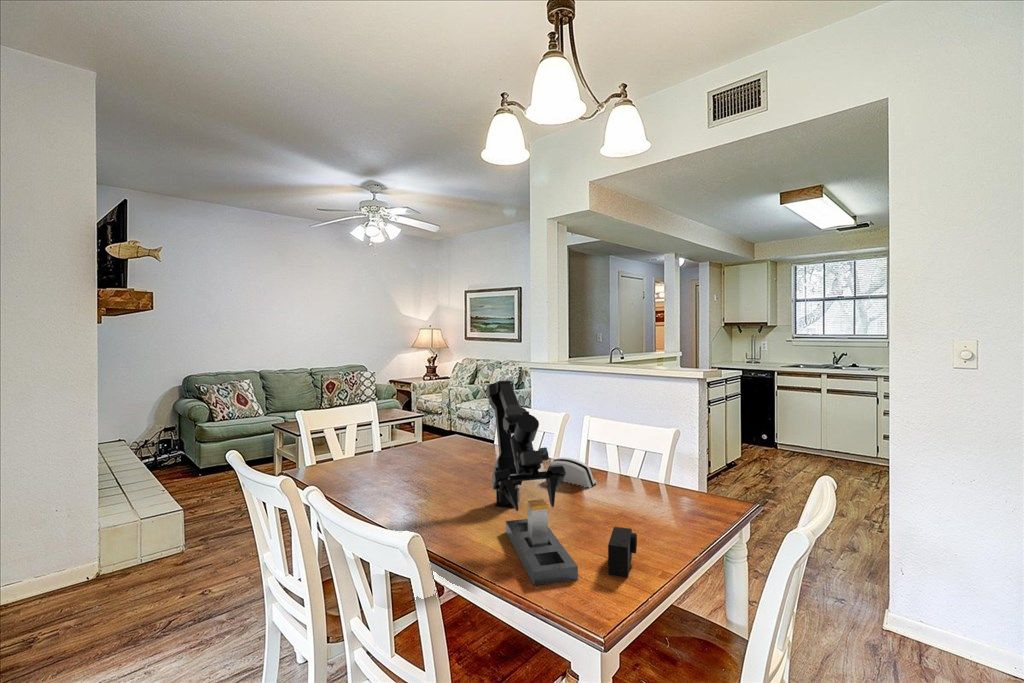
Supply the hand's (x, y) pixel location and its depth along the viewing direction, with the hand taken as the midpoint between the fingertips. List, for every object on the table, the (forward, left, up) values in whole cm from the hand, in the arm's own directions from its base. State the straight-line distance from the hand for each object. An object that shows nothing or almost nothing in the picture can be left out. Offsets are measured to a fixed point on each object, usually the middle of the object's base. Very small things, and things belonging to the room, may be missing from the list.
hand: (535, 508), depth 118 cm
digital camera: (+21, -3, -11) cm, 24 cm away
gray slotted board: (+1, -2, -10) cm, 11 cm away
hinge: (+2, +54, -11) cm, 55 cm away
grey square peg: (+1, -2, -10) cm, 11 cm away
